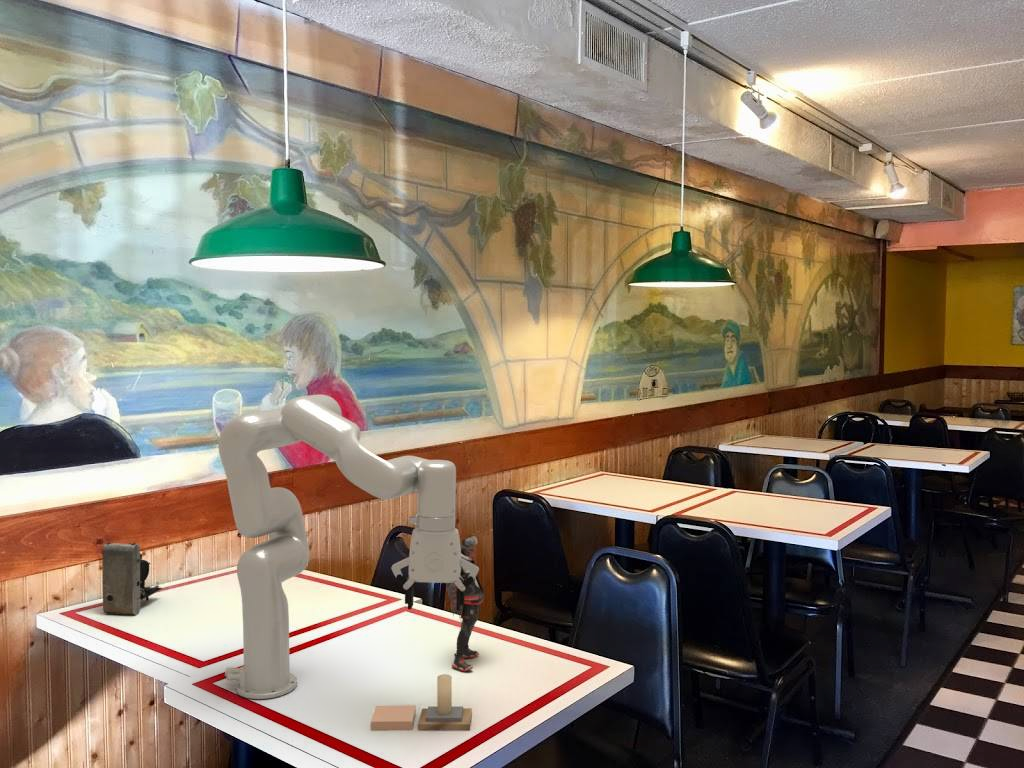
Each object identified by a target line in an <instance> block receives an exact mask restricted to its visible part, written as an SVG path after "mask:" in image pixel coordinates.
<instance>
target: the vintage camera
mask: <svg viewBox="0 0 1024 768" xmlns="http://www.w3.org/2000/svg"><path fill="white" fill-rule="evenodd" d="M101 550H102V551H101V555H102V563H101V564H102V567H101V568H102V574H101V575H102V612H103V613H104V614H105V613H108V614H107V615H120V614H126V615H127V616H137V615H138V614H139V613H140V611H141V602H142V600H144V599H145V601H149V597H151V596H153V595H154V594H155V593H157V592H159V591H160V590H162V589H163V588H162V587H160V585H158V584H157V585H155V586H153V587H151V586H145V585H146V580H147V579H148V576H149V573H150V565H151V562H148V561H147V560H145V559H143V554H142V553H141V551H140V550H141V547H140V546H139V544H138V543H136V542H132V543H131V542H130V543H128V544H127V543H120V542H114V543H113V542H109V541H108V542H106V543H105V544H104V545H103V547H102V549H101ZM136 614H137V615H136Z"/></svg>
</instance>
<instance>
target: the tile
mask: <svg viewBox="0 0 1024 768" xmlns="http://www.w3.org/2000/svg"><path fill="white" fill-rule="evenodd" d="M416 716H417V706H416V705H412V704H411V705H407V704H406V705H405V704H402V705H375V707H374V711H373V713H372V717H371V720H370V731H374V732H376V731H386V732H387V731H413V730H414V724H415V721H416V720H415V719H416Z"/></svg>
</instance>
